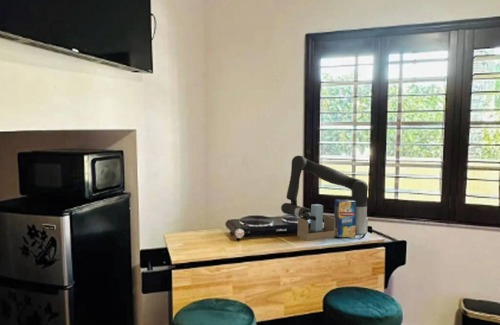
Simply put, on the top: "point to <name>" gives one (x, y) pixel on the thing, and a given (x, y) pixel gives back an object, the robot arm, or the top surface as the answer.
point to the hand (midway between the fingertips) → (319, 218)
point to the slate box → (317, 218)
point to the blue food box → (345, 218)
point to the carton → (307, 235)
